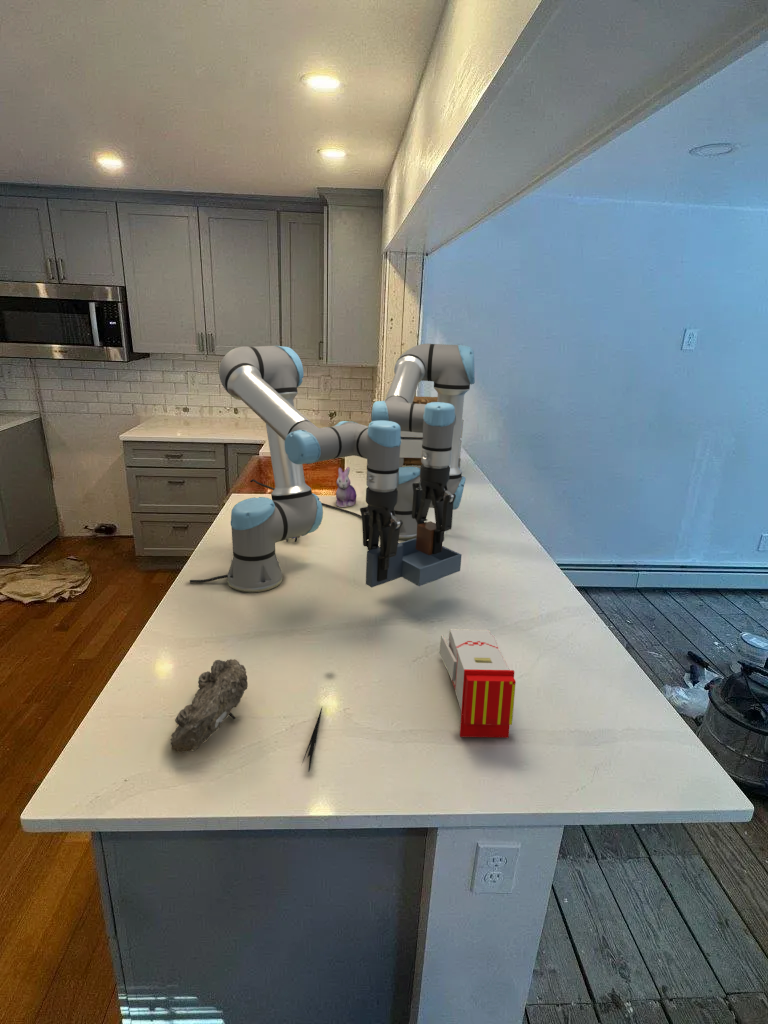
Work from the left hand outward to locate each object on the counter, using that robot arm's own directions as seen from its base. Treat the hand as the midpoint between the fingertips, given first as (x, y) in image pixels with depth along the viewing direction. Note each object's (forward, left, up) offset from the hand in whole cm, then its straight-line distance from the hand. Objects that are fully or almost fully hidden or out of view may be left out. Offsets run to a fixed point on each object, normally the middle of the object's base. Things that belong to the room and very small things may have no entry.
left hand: (378, 577), depth 142 cm
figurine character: (-40, +43, -12) cm, 60 cm away
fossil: (-20, -45, -12) cm, 51 cm away
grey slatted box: (-13, +138, -12) cm, 139 cm away
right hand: (+10, +14, +3) cm, 18 cm away
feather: (-1, -40, -12) cm, 42 cm away
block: (+10, +14, +3) cm, 18 cm away
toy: (+26, -23, -12) cm, 37 cm away
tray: (+6, +8, -2) cm, 10 cm away
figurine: (-33, +82, -12) cm, 89 cm away
